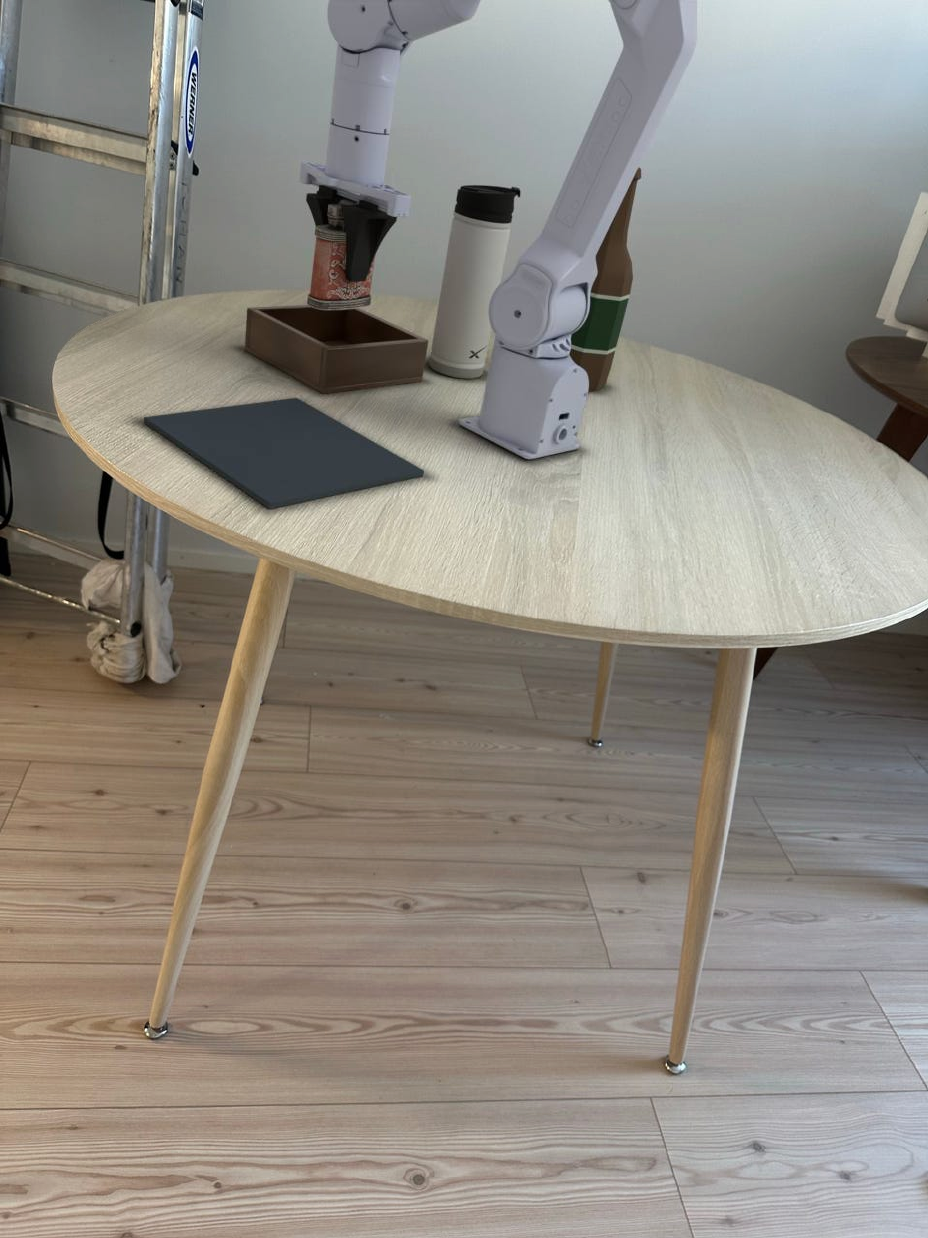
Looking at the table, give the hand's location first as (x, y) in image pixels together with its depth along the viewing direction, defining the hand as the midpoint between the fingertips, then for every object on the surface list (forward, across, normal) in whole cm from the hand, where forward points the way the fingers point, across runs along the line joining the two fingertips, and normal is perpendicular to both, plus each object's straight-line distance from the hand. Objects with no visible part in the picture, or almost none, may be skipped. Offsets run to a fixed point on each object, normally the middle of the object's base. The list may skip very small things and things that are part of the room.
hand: (343, 275), depth 100 cm
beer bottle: (+10, +11, +28) cm, 32 cm away
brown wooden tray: (+10, -1, +1) cm, 10 cm away
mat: (+10, +16, -18) cm, 26 cm away
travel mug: (+10, +4, +15) cm, 18 cm away
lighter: (+3, 0, 0) cm, 3 cm away
